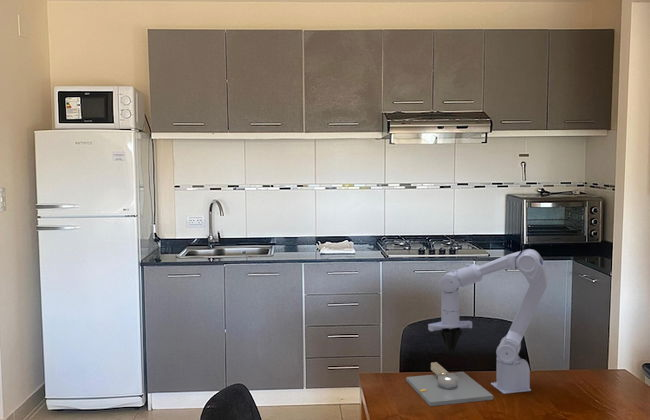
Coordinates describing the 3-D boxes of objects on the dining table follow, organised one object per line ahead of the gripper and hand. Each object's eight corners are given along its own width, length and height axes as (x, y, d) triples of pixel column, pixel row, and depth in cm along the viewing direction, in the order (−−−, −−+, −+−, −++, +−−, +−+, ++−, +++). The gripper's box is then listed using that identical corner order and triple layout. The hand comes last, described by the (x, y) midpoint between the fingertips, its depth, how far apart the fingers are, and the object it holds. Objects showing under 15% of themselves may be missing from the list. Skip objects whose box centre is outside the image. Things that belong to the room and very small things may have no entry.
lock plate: (463, 375, 182) (463, 370, 182) (493, 399, 163) (493, 394, 163) (406, 380, 178) (406, 376, 178) (429, 406, 159) (429, 401, 159)
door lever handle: (460, 388, 168) (460, 377, 168) (442, 390, 167) (442, 378, 167) (442, 372, 182) (442, 361, 181) (425, 373, 180) (425, 363, 180)
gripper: (465, 305, 183) (465, 345, 184) (424, 308, 180) (424, 348, 181) (475, 310, 176) (475, 351, 177) (432, 313, 173) (433, 355, 174)
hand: (450, 350), depth 178 cm, fingers closed
